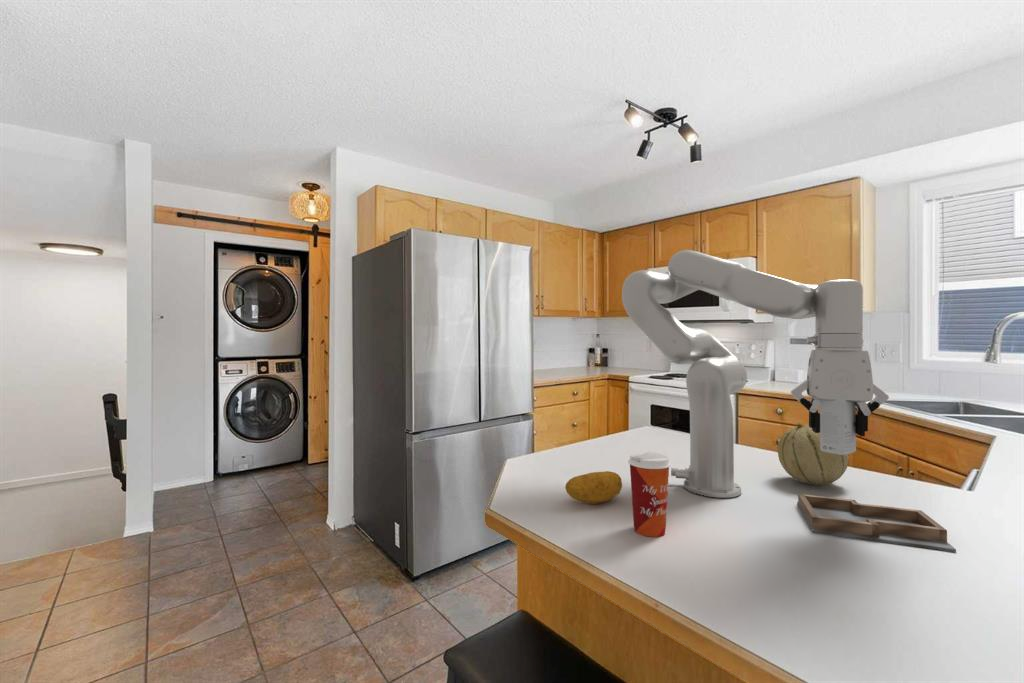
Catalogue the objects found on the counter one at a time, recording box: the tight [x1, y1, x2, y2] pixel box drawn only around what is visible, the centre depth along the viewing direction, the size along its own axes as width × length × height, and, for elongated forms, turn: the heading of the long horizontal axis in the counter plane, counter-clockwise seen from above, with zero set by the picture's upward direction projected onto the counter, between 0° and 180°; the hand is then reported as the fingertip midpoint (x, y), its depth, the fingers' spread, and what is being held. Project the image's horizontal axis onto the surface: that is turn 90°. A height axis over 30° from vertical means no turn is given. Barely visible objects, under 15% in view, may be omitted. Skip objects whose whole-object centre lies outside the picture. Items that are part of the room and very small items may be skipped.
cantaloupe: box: [777, 422, 850, 486], centre depth 111 cm, size 15×15×15 cm
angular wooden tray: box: [797, 493, 957, 553], centre depth 85 cm, size 20×16×2 cm
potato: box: [564, 471, 623, 505], centre depth 98 cm, size 8×14×7 cm, turn 110°
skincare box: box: [819, 392, 857, 455], centre depth 88 cm, size 6×4×12 cm
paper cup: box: [627, 451, 672, 538], centre depth 83 cm, size 8×8×14 cm
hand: (837, 432), depth 88 cm, fingers closed on skincare box, 6 cm apart
